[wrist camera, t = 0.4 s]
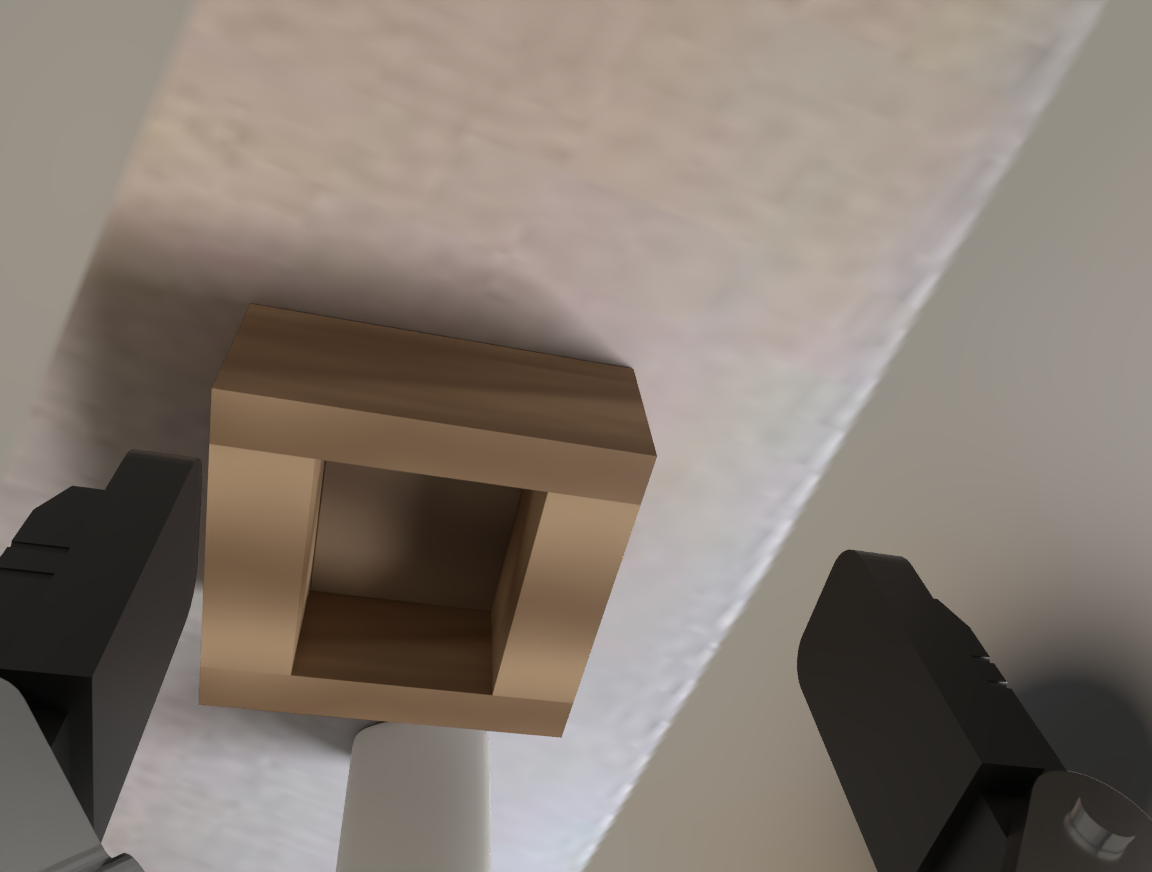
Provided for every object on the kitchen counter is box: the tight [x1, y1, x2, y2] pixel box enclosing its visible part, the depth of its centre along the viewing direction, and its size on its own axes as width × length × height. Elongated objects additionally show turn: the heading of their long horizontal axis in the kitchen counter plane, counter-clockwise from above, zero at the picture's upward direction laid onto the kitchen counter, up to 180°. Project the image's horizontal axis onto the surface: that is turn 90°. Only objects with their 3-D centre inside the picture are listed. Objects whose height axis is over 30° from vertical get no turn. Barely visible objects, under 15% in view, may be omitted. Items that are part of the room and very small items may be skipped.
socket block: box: [199, 304, 657, 737], centre depth 31 cm, size 12×12×5 cm
